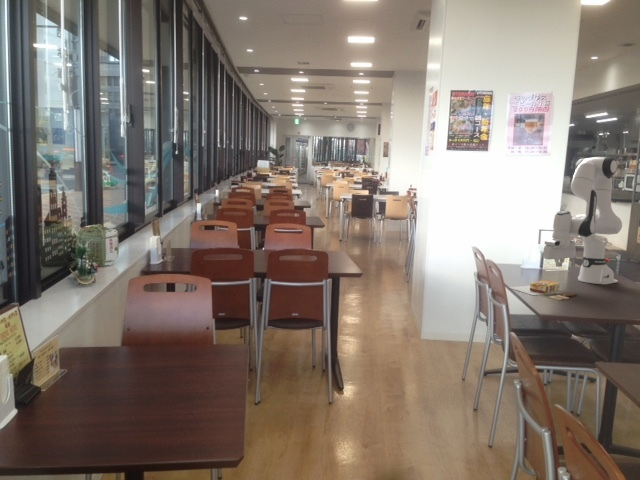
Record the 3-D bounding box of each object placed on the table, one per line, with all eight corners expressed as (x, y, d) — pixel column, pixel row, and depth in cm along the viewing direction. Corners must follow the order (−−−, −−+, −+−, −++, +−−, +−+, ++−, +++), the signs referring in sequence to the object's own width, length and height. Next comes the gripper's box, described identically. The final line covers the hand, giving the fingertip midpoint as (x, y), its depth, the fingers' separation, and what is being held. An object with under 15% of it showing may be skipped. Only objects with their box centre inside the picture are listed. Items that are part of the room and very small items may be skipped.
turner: (570, 293, 306) (570, 291, 306) (580, 296, 301) (581, 293, 301) (548, 298, 296) (549, 295, 296) (559, 300, 291) (559, 297, 291)
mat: (536, 285, 325) (536, 285, 324) (562, 292, 308) (562, 292, 308) (508, 288, 316) (508, 287, 316) (533, 295, 300) (533, 294, 300)
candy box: (560, 282, 313) (545, 285, 303) (559, 290, 313) (545, 293, 303) (544, 279, 319) (530, 282, 309) (544, 287, 320) (529, 290, 310)
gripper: (570, 239, 322) (568, 264, 324) (542, 241, 314) (540, 266, 316) (579, 241, 316) (577, 266, 319) (551, 243, 308) (549, 268, 310)
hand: (558, 266), depth 317 cm, fingers closed
